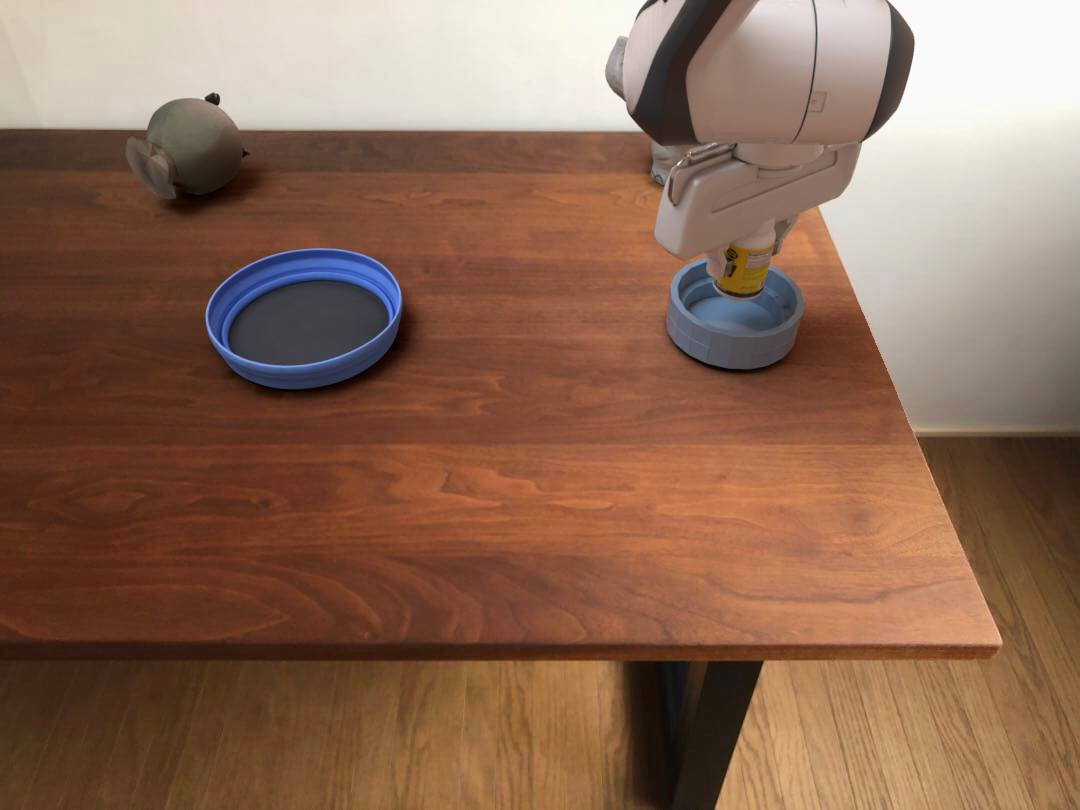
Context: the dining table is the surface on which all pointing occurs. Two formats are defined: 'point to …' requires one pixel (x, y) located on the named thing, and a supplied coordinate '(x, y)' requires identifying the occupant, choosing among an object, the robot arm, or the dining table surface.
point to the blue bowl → (733, 319)
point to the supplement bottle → (748, 264)
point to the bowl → (305, 317)
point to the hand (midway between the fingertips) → (743, 263)
